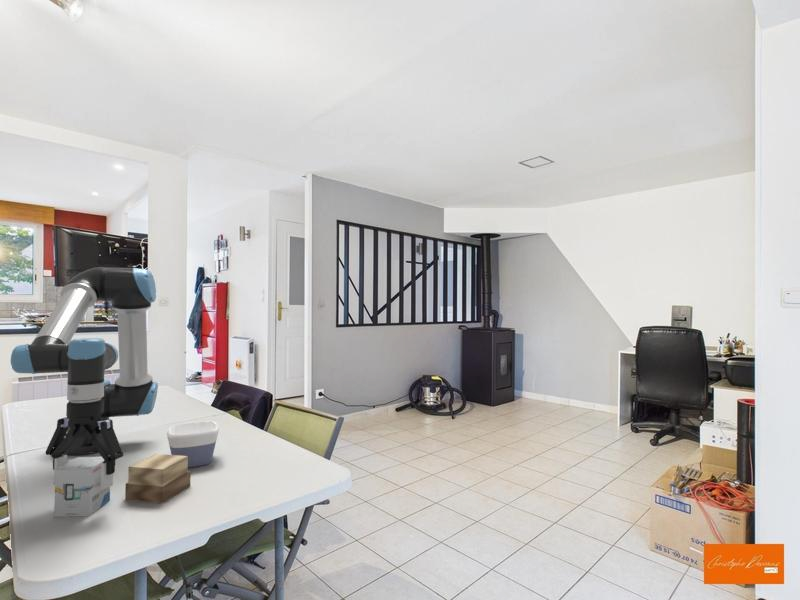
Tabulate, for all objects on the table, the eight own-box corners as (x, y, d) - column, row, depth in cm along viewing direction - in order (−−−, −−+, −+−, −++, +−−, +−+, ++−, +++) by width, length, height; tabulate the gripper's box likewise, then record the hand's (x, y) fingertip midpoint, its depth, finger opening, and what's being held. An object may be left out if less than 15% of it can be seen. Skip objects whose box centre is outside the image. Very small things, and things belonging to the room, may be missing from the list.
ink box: (76, 501, 111) (77, 456, 111) (110, 500, 111) (111, 455, 111) (52, 517, 102) (53, 468, 102) (90, 516, 103) (91, 467, 103)
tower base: (125, 500, 112) (125, 483, 112) (155, 483, 123) (156, 468, 123) (162, 504, 110) (162, 487, 110) (190, 487, 121) (190, 471, 121)
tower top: (128, 483, 112) (128, 466, 112) (155, 469, 122) (155, 453, 122) (162, 486, 110) (163, 469, 110) (187, 472, 120) (187, 456, 120)
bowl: (165, 474, 129) (166, 437, 129) (166, 457, 142) (167, 424, 143) (220, 465, 136) (221, 430, 136) (216, 451, 149) (217, 419, 150)
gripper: (29, 400, 106) (26, 487, 105) (116, 405, 101) (113, 495, 101) (58, 394, 113) (55, 475, 112) (140, 399, 109) (138, 483, 108)
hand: (83, 485), depth 106 cm, fingers open, 13 cm apart
